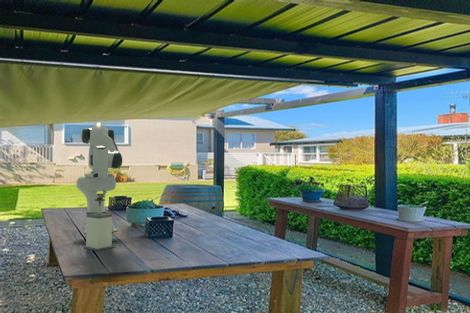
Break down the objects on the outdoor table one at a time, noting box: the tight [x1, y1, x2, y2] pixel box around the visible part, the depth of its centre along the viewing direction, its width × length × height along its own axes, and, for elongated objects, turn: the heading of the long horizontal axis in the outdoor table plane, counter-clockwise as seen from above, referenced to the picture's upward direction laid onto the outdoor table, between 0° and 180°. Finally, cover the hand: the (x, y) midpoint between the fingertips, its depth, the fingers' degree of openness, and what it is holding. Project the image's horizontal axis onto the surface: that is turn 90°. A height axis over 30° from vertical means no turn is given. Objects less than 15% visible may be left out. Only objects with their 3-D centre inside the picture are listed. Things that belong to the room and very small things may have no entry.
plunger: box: [95, 193, 106, 215], centre depth 251 cm, size 7×7×19 cm
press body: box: [83, 212, 115, 252], centre depth 251 cm, size 12×12×20 cm
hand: (99, 198), depth 251 cm, fingers closed on plunger, 3 cm apart
